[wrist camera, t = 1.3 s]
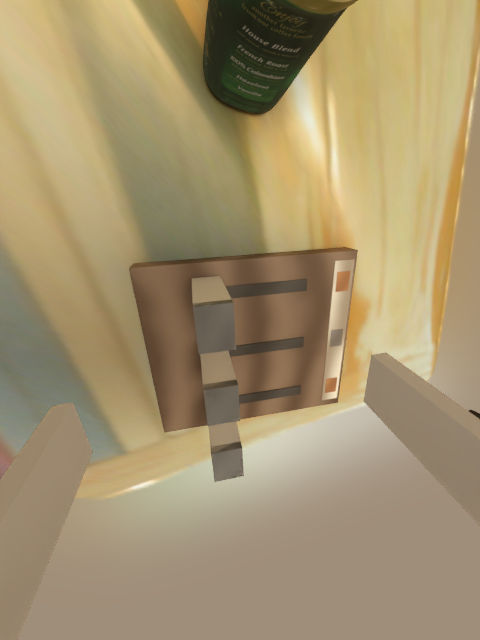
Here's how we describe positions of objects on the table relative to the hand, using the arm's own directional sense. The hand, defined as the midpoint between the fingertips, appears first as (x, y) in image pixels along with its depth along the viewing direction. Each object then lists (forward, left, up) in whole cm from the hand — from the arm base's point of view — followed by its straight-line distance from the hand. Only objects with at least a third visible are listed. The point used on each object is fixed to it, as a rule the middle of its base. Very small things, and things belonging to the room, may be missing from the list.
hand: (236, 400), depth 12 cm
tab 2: (0, -8, -18) cm, 20 cm away
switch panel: (+5, -8, -21) cm, 23 cm away
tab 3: (0, -16, -18) cm, 24 cm away
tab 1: (0, -1, -18) cm, 18 cm away
